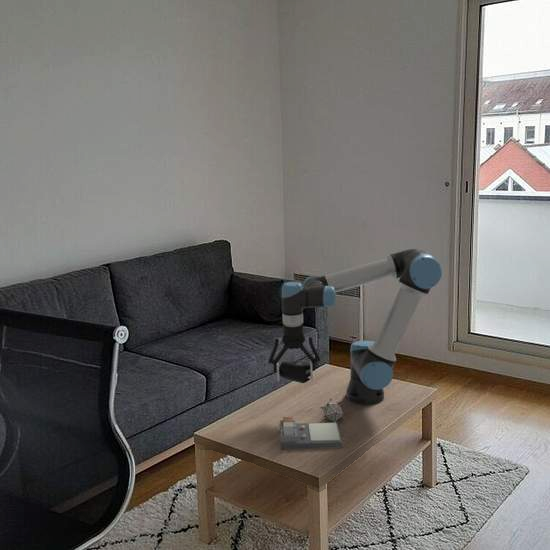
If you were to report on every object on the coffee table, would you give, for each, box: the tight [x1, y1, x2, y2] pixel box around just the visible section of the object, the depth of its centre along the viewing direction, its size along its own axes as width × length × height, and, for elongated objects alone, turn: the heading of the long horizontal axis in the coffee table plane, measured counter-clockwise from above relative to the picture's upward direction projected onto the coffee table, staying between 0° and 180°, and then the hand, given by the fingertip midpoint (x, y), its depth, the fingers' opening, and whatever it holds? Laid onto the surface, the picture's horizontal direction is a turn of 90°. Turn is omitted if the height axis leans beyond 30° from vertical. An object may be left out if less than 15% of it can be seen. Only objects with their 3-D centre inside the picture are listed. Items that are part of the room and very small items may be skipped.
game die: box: [319, 398, 346, 422], centre depth 247 cm, size 9×8×10 cm
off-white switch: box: [283, 422, 294, 436], centre depth 230 cm, size 4×4×4 cm
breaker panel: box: [279, 419, 343, 450], centre depth 234 cm, size 21×16×4 cm
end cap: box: [279, 359, 311, 384], centre depth 248 cm, size 10×7×7 cm
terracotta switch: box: [282, 416, 294, 422], centre depth 237 cm, size 4×4×4 cm
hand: (294, 379), depth 249 cm, fingers closed on end cap, 12 cm apart
